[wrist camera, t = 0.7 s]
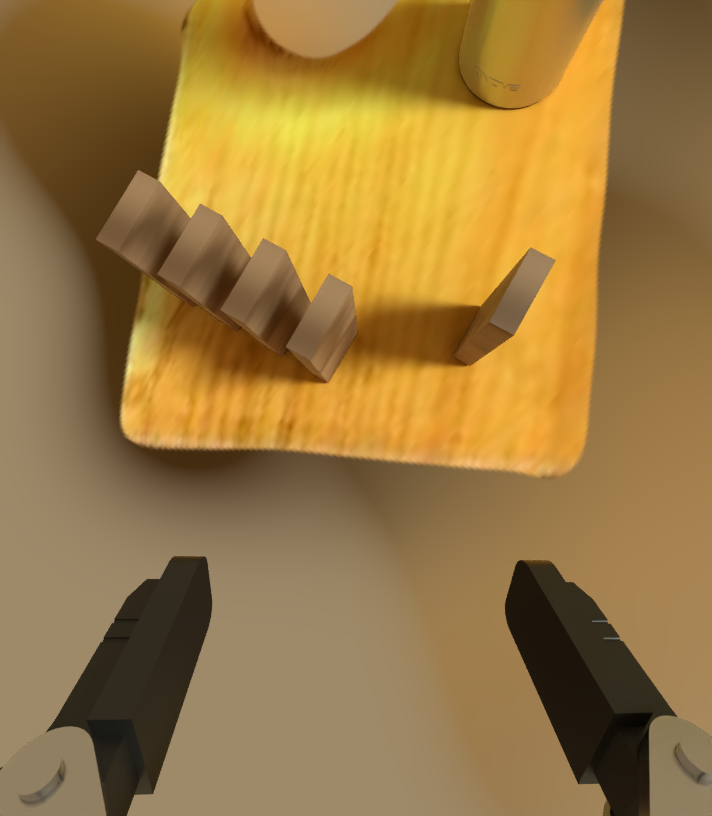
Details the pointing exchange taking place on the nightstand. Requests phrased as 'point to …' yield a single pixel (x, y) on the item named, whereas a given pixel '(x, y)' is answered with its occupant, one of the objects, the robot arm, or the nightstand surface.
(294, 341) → the tile
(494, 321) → the loose tile
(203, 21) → the nightstand surface
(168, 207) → the tile
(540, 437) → the nightstand surface
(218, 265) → the wooden domino
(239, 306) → the tile
